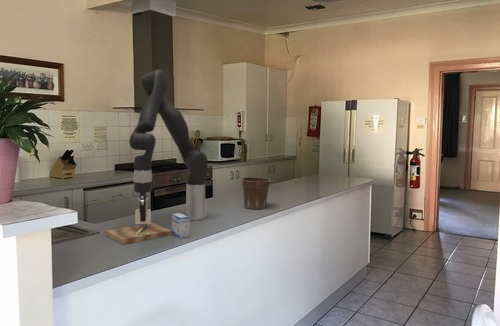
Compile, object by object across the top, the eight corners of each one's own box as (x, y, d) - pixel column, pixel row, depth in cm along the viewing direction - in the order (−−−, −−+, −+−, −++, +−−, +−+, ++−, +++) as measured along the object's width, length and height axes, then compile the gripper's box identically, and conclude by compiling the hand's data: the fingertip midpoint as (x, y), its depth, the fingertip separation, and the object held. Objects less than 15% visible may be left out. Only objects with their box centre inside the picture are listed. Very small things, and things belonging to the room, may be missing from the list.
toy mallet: (136, 226, 180) (136, 208, 179) (150, 227, 180) (150, 208, 180) (130, 234, 169) (130, 214, 168) (145, 234, 170) (145, 214, 169)
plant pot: (274, 206, 239) (274, 178, 237) (263, 212, 224) (263, 182, 222) (248, 203, 246) (249, 176, 244) (236, 208, 231) (236, 179, 229)
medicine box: (171, 233, 179) (171, 213, 178) (180, 232, 182) (180, 212, 181) (179, 238, 173) (180, 217, 172) (189, 236, 176) (189, 216, 175)
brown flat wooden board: (152, 227, 189) (152, 222, 189) (171, 234, 177) (171, 230, 177) (105, 235, 174) (105, 230, 174) (123, 244, 162) (123, 239, 162)
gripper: (134, 178, 183) (135, 216, 185) (132, 183, 169) (132, 224, 171) (152, 177, 184) (152, 216, 186) (151, 183, 171) (151, 224, 172)
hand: (143, 220), depth 178 cm, fingers open, 3 cm apart
